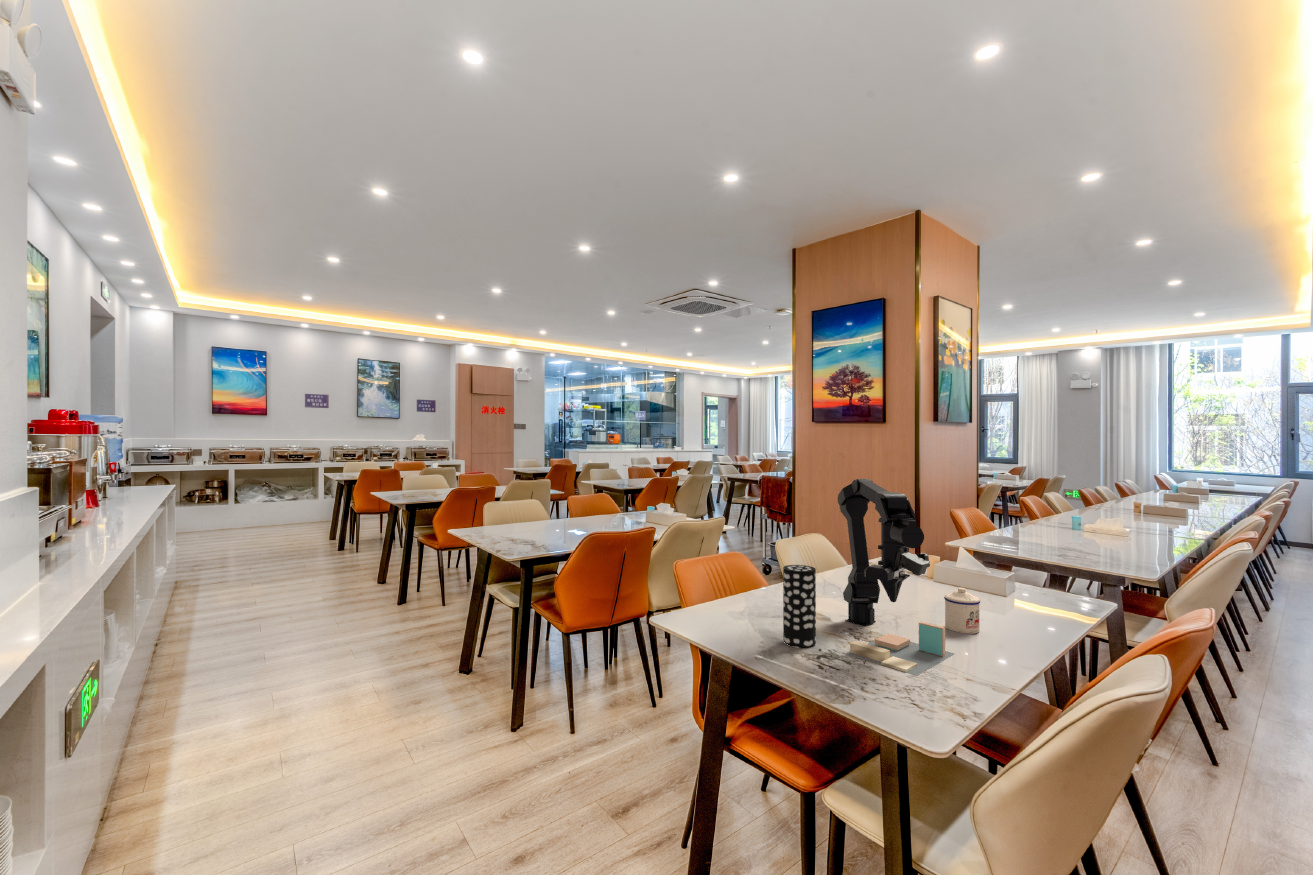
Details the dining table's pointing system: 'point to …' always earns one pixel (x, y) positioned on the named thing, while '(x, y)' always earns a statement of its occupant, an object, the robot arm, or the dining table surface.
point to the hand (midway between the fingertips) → (893, 601)
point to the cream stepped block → (881, 656)
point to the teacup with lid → (962, 612)
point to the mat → (911, 657)
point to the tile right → (932, 639)
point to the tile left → (892, 642)
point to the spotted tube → (799, 606)
